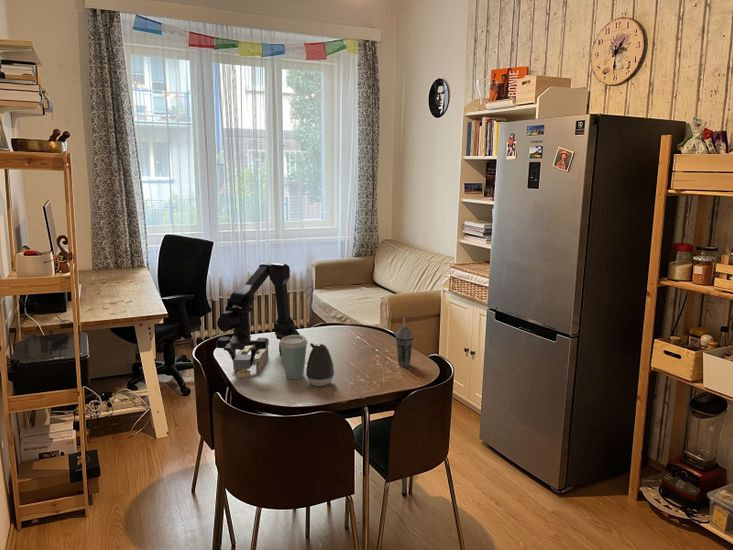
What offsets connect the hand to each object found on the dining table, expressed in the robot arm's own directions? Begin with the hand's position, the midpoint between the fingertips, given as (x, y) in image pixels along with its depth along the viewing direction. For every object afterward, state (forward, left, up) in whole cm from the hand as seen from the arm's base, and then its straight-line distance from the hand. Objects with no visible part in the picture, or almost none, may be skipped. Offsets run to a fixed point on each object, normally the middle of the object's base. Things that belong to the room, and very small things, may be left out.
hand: (243, 364), depth 218 cm
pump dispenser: (-30, +6, -5) cm, 31 cm away
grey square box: (0, 0, -4) cm, 4 cm away
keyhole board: (0, -12, -4) cm, 13 cm away
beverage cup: (-61, -16, -5) cm, 63 cm away
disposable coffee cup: (-19, -1, -5) cm, 20 cm away
